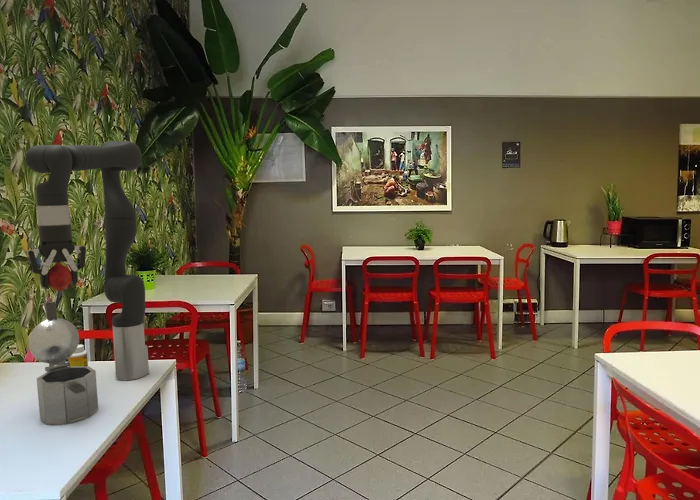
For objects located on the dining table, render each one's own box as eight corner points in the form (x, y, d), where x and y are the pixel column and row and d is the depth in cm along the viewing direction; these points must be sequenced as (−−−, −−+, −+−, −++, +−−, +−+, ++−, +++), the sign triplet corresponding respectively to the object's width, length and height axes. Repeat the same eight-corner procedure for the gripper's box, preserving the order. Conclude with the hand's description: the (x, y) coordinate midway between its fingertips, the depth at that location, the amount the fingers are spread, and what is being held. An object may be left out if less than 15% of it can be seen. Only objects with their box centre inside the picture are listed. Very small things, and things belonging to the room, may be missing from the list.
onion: (61, 293, 135) (59, 263, 134) (42, 293, 136) (39, 262, 135) (77, 289, 140) (75, 259, 139) (58, 289, 141) (56, 259, 140)
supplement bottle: (87, 378, 169) (85, 347, 168) (68, 380, 167) (65, 349, 166) (89, 372, 174) (87, 342, 173) (71, 375, 172) (68, 344, 171)
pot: (85, 398, 152) (82, 361, 151) (110, 416, 140) (107, 376, 138) (32, 413, 143) (29, 374, 141) (54, 434, 130) (50, 391, 129)
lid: (82, 363, 150) (79, 362, 151) (74, 298, 149) (72, 298, 151) (33, 374, 141) (31, 373, 142) (25, 306, 140) (22, 306, 142)
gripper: (79, 221, 144) (83, 281, 146) (18, 224, 133) (24, 289, 135) (89, 222, 138) (93, 284, 140) (27, 225, 128) (33, 293, 130)
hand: (59, 286), depth 138 cm, fingers closed on onion, 6 cm apart
